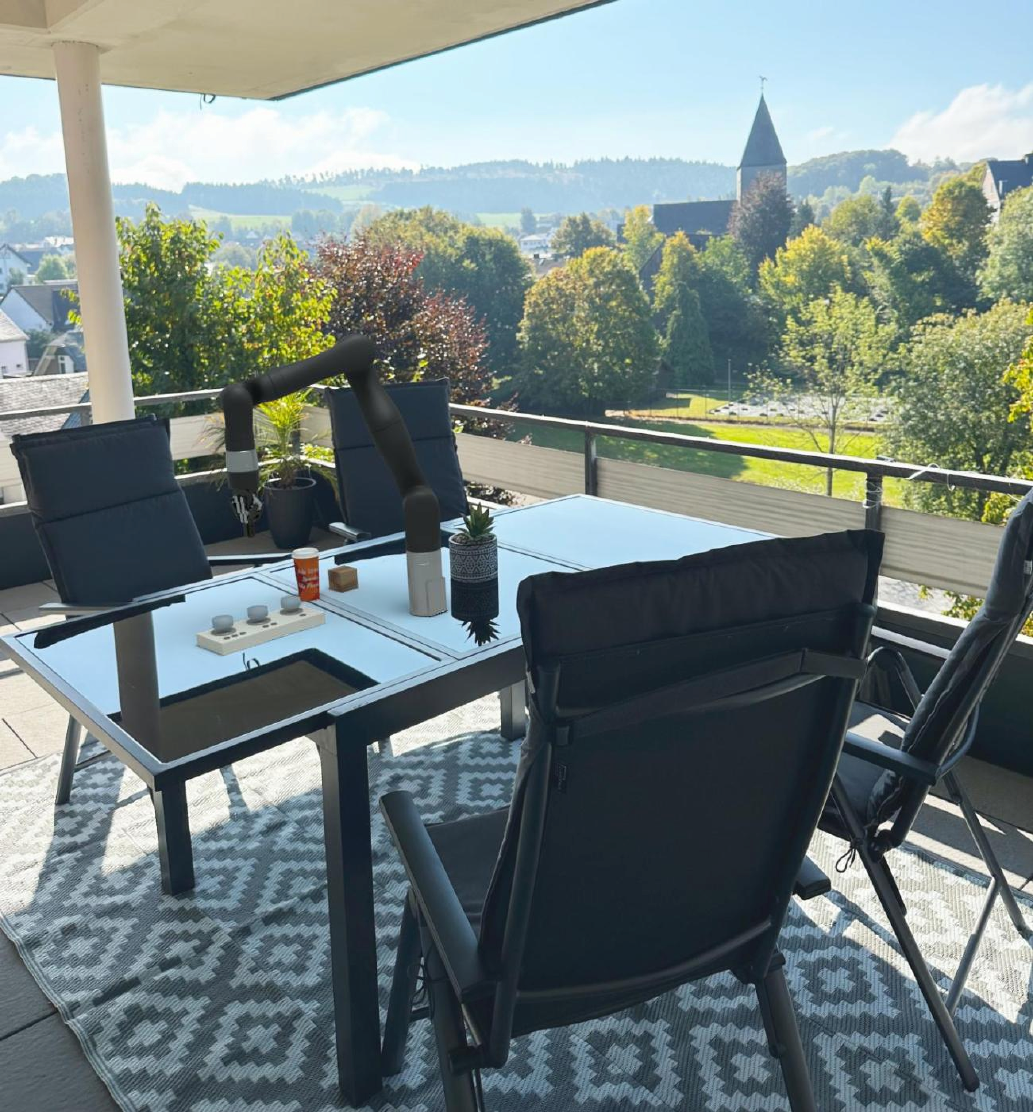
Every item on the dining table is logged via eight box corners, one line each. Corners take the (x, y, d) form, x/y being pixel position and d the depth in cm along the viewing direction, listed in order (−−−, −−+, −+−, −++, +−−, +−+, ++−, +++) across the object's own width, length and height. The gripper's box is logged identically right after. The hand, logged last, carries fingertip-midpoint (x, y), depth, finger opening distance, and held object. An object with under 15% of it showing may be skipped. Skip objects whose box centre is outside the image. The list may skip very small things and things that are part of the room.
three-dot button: (237, 625, 247) (236, 617, 246) (219, 630, 243) (218, 622, 243) (226, 621, 250) (225, 613, 249) (208, 626, 246) (207, 618, 246)
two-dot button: (272, 615, 254) (271, 607, 253) (255, 620, 250) (254, 612, 250) (260, 611, 257) (260, 604, 256) (243, 616, 253) (243, 608, 253)
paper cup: (300, 604, 278) (295, 555, 274) (292, 597, 284) (288, 549, 281) (327, 599, 281) (323, 551, 277) (319, 592, 288) (315, 545, 284)
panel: (325, 623, 260) (324, 611, 259) (223, 655, 239) (222, 642, 238) (298, 614, 268) (297, 603, 267) (197, 645, 247) (195, 632, 246)
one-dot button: (304, 605, 261) (303, 598, 260) (288, 610, 257) (287, 602, 257) (293, 602, 264) (292, 594, 263) (277, 606, 260) (276, 599, 260)
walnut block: (358, 588, 291) (356, 568, 290) (342, 593, 287) (340, 573, 285) (345, 584, 295) (344, 565, 294) (329, 589, 291) (327, 569, 289)
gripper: (271, 468, 242) (277, 537, 247) (241, 463, 251) (248, 530, 255) (244, 472, 237) (251, 543, 241) (214, 467, 246) (222, 536, 250)
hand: (249, 536), depth 248 cm, fingers closed
